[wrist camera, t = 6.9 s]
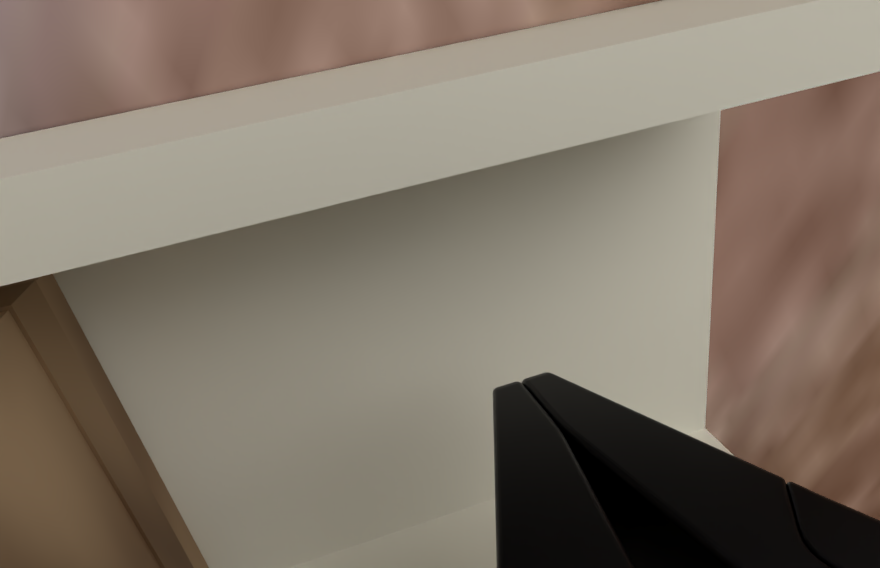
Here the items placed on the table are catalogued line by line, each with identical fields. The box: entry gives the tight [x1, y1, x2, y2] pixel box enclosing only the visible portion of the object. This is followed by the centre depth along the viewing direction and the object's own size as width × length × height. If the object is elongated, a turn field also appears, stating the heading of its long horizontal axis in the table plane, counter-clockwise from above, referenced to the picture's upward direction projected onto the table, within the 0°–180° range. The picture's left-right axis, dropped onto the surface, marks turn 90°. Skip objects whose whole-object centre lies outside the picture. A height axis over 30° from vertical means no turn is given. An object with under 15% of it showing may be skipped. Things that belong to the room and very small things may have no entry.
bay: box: [0, 0, 880, 568], centre depth 8 cm, size 10×18×4 cm, turn 100°
